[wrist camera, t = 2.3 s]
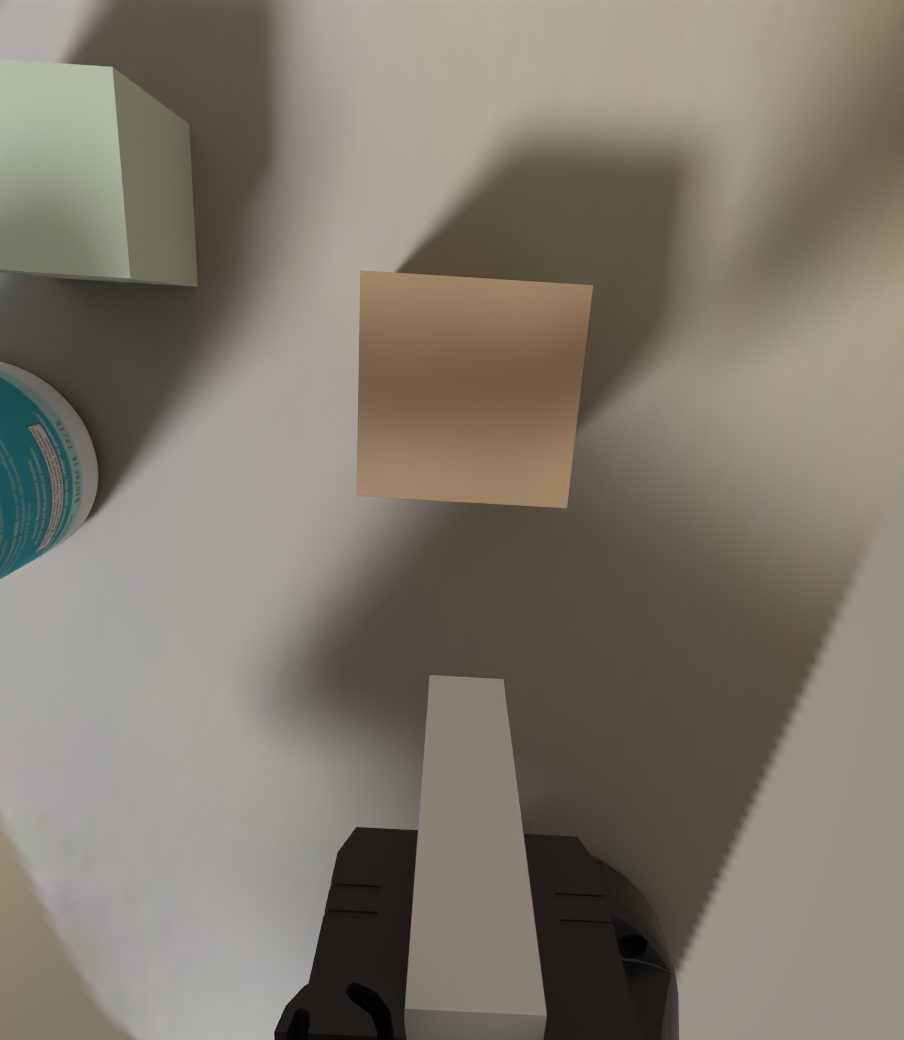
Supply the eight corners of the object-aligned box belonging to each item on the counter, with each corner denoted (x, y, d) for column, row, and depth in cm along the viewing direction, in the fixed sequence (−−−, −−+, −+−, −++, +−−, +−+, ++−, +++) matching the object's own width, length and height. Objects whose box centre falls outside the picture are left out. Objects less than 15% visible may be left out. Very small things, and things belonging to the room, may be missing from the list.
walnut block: (539, 463, 24) (566, 508, 18) (380, 453, 24) (356, 496, 18) (557, 294, 22) (593, 285, 17) (384, 283, 22) (360, 270, 16)
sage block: (198, 287, 22) (130, 277, 18) (54, 278, 22) (-54, 266, 18) (190, 124, 21) (112, 67, 16) (35, 114, 21) (-89, 53, 16)
